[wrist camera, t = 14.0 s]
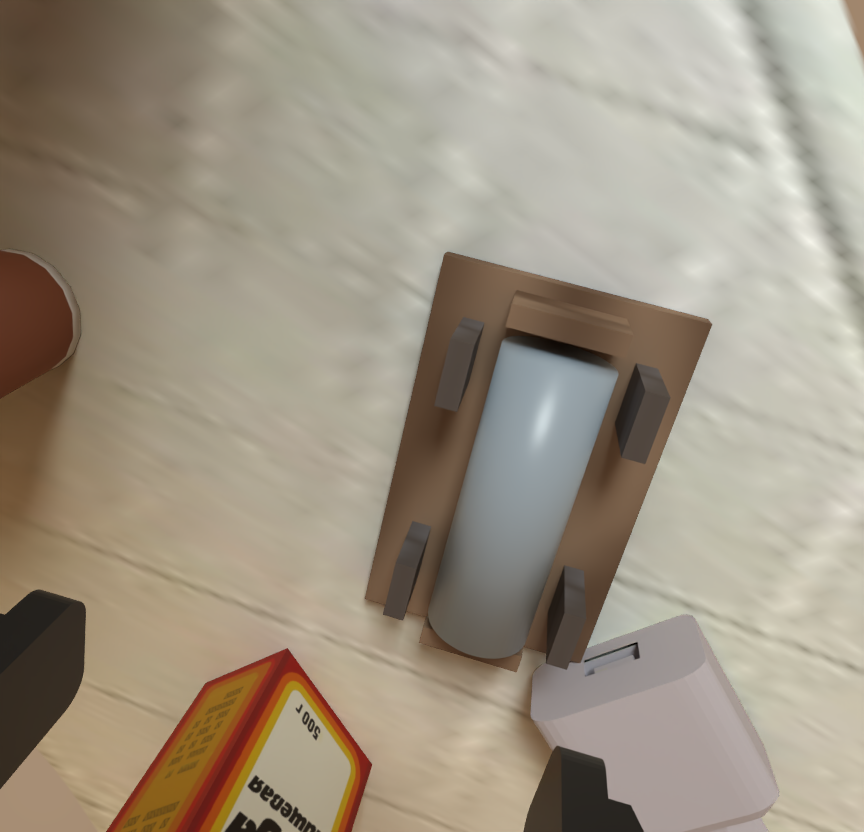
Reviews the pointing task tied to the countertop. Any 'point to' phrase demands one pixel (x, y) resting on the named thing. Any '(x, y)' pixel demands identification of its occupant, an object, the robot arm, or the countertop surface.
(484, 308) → the walnut holder
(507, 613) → the cylinder
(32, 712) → the robot arm
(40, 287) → the coffee cup
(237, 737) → the baking soda box
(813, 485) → the countertop surface
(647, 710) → the charger
